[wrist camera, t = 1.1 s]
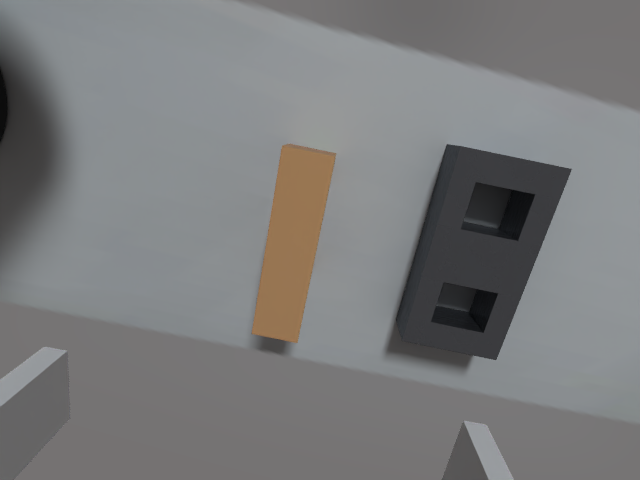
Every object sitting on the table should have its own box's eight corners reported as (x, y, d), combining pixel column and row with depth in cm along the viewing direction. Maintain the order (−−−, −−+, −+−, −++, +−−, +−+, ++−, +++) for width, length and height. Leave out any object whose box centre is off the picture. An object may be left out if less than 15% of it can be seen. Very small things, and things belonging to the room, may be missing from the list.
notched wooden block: (309, 281, 33) (297, 343, 24) (277, 275, 33) (251, 333, 24) (337, 148, 30) (335, 156, 20) (301, 140, 30) (282, 145, 20)
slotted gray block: (480, 337, 34) (496, 360, 31) (396, 320, 34) (402, 340, 31) (545, 164, 29) (571, 169, 26) (447, 144, 29) (460, 146, 26)
